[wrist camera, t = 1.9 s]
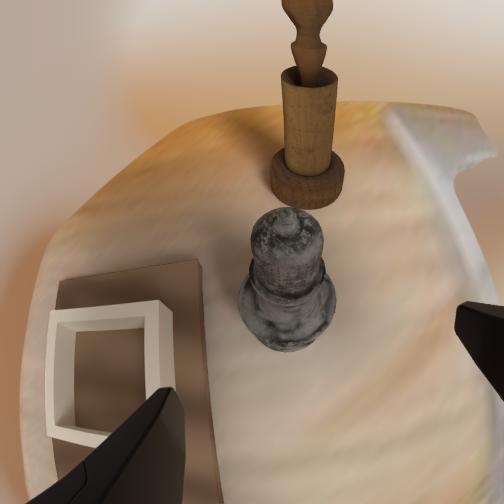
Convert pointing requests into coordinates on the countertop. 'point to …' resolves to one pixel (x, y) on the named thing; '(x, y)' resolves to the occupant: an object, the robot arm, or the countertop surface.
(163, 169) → the countertop surface
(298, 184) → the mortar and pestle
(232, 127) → the countertop surface
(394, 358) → the countertop surface
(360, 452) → the countertop surface
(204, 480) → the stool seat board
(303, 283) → the salt shaker
